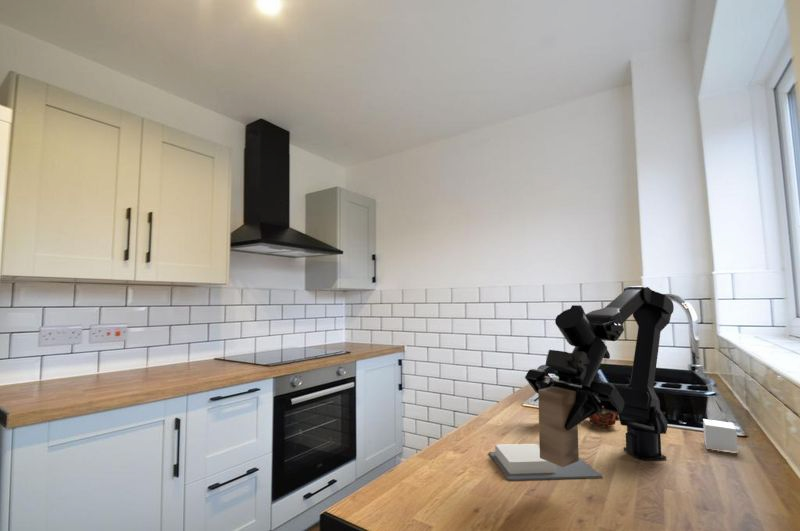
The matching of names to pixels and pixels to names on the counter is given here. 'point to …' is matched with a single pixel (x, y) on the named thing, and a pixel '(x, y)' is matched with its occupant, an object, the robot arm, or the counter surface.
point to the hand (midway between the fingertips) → (553, 424)
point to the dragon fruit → (604, 418)
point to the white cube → (720, 435)
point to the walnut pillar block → (557, 426)
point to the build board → (560, 474)
